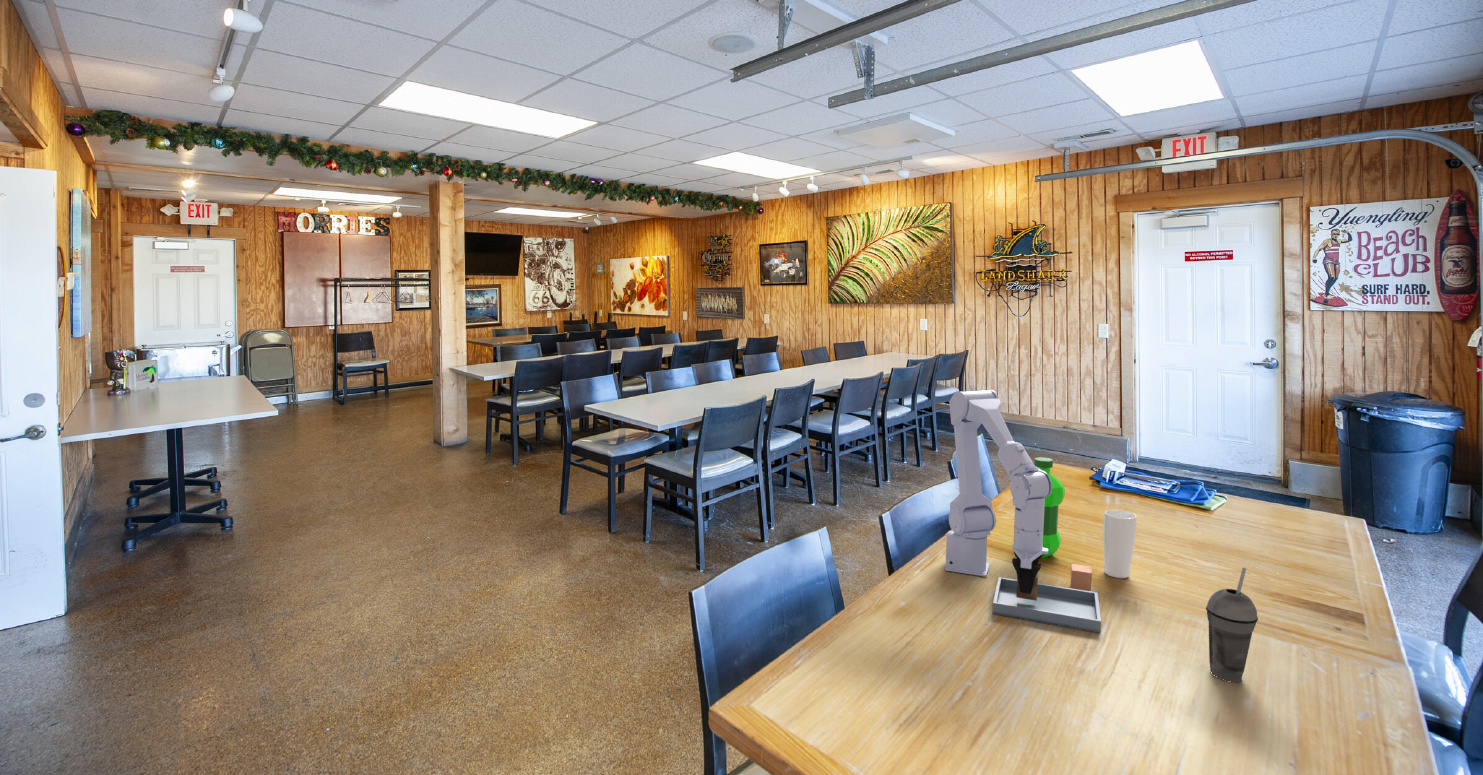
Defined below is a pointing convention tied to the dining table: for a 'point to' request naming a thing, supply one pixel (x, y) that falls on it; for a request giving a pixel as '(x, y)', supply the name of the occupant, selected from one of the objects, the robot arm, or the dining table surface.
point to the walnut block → (1026, 595)
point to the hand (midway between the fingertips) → (1025, 588)
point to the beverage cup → (1230, 631)
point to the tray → (1049, 606)
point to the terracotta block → (1081, 577)
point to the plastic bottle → (1051, 508)
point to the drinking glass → (1118, 542)
